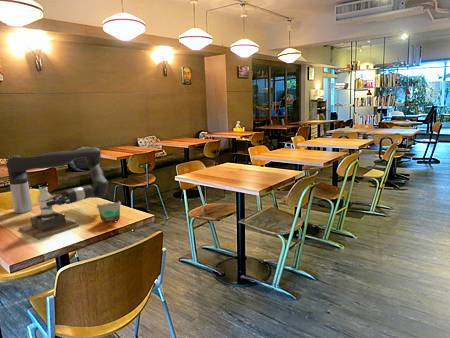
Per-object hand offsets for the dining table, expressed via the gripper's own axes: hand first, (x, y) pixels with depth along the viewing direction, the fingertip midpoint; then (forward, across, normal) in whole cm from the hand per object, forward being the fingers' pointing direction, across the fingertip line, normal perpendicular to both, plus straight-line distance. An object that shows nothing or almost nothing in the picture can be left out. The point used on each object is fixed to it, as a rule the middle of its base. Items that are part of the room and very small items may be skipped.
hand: (42, 203), depth 171 cm
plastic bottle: (-2, 0, +12) cm, 12 cm away
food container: (-24, +20, +14) cm, 34 cm away
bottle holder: (-1, 0, +14) cm, 14 cm away
